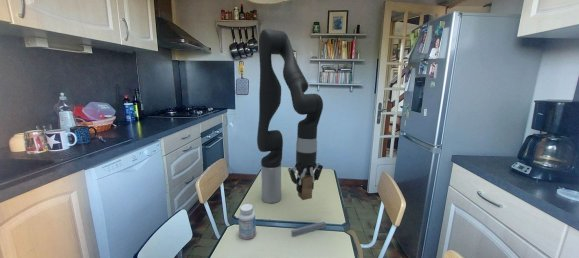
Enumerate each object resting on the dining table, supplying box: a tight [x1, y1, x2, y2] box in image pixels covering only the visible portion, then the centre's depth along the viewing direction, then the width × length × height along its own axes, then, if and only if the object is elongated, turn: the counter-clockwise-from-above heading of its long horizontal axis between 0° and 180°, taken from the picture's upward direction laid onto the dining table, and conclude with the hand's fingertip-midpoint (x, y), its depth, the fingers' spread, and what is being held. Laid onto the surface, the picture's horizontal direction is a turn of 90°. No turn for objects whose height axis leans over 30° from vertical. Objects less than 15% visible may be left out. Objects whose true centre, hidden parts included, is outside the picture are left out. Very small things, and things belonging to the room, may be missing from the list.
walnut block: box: [297, 175, 313, 201], centre depth 93 cm, size 4×4×9 cm
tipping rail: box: [291, 221, 327, 237], centre depth 92 cm, size 1×14×2 cm, turn 113°
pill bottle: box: [238, 203, 257, 240], centre depth 89 cm, size 6×6×11 cm
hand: (304, 191), depth 93 cm, fingers closed on walnut block, 4 cm apart
